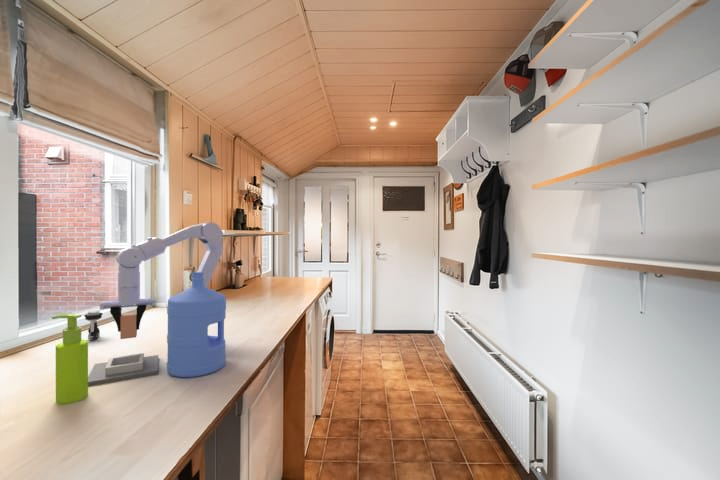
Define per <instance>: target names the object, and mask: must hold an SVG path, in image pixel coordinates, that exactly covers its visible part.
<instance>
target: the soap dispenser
mask: <svg viewBox="0 0 720 480" xmlns="http://www.w3.org/2000/svg"><path fill="white" fill-rule="evenodd" d="M81 317H82V314H81V313H62V314H59V315H55V316H52V317H51V319H52V320H56V319H67V327H66V328H64V329H62V342H60V343H57V344H55V403H56V404H58V405H67V404H72V403H75V402H79V401H82V400H83V399H85V398H87V397H88V395H89V386H88V376H89V340H87V339H82V327H81V326H78V325H77V324H78V321H77V320H78V318H81Z"/></svg>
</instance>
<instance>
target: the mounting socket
mask: <svg viewBox="0 0 720 480" xmlns="http://www.w3.org/2000/svg"><path fill="white" fill-rule="evenodd" d="M154 375H159V354H155V355H148V356H145V353H135V354H129V355H122V356H116V357H115V356H114V357H109V358H108V361H107V362H100V363H98V362H97V363H94V365H93V366H92V368H91V371H90V373H88V387H89V386H94V385H95V386H96V385H101V384H107V383H113V382H119V381H126V380H130V379H136V378H143V377H149V376H154Z"/></svg>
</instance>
